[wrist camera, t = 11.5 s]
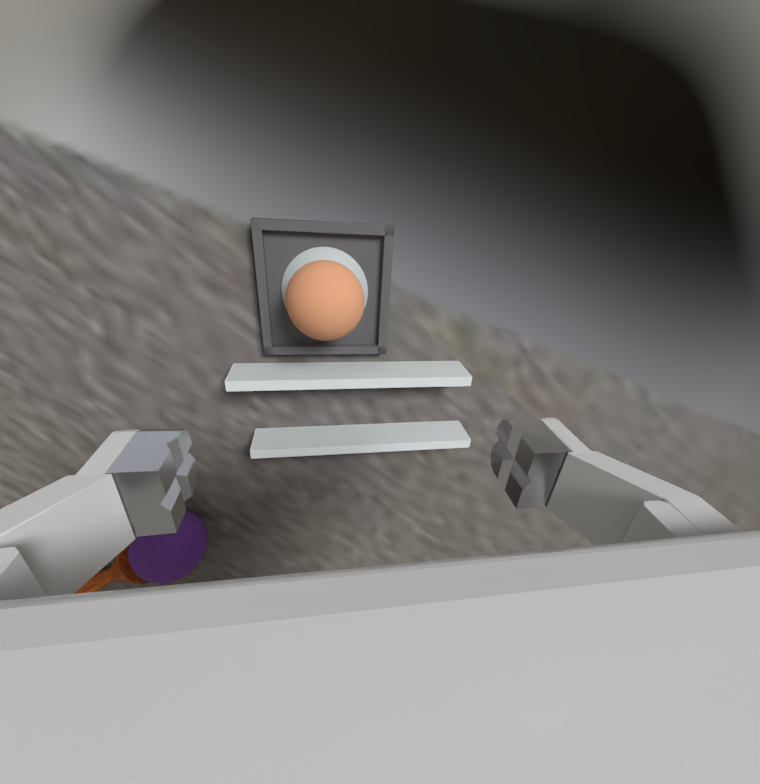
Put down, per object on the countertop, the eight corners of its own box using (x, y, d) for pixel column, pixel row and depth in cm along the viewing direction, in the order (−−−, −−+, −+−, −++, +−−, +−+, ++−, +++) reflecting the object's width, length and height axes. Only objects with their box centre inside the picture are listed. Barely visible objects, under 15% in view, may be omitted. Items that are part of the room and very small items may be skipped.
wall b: (458, 360, 30) (472, 376, 28) (457, 369, 31) (470, 385, 28) (233, 363, 27) (224, 381, 25) (234, 372, 28) (226, 391, 25)
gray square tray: (391, 224, 24) (394, 226, 24) (383, 349, 29) (385, 353, 28) (252, 217, 23) (250, 218, 22) (266, 349, 27) (264, 354, 26)
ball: (363, 256, 24) (369, 268, 20) (360, 327, 27) (366, 352, 22) (287, 253, 24) (276, 265, 19) (292, 326, 26) (283, 351, 22)
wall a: (458, 420, 33) (470, 439, 31) (457, 427, 34) (469, 447, 31) (255, 428, 30) (249, 450, 28) (256, 436, 31) (250, 458, 28)
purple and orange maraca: (-22, 623, 31) (151, 532, 27) (39, 566, 37) (190, 484, 33) (34, 662, 33) (203, 583, 29) (84, 602, 39) (231, 529, 35)
